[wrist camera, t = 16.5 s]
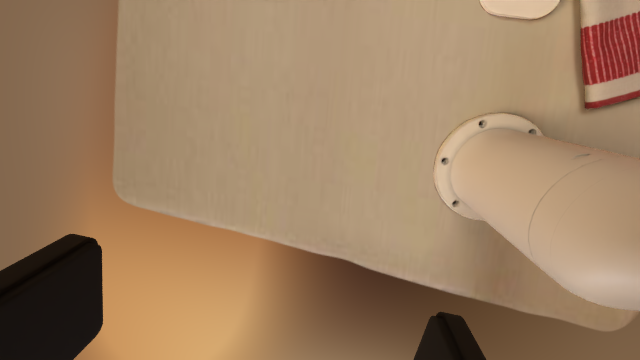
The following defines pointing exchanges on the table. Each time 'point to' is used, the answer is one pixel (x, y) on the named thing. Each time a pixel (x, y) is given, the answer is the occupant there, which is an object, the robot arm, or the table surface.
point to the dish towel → (610, 51)
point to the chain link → (519, 8)
